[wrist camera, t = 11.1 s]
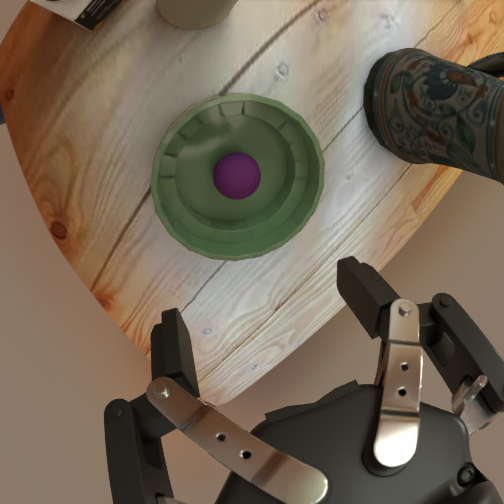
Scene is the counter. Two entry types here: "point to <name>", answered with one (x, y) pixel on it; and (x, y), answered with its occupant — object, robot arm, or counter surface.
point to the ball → (236, 176)
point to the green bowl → (248, 209)
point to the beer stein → (439, 110)
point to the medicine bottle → (81, 10)
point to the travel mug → (194, 12)
